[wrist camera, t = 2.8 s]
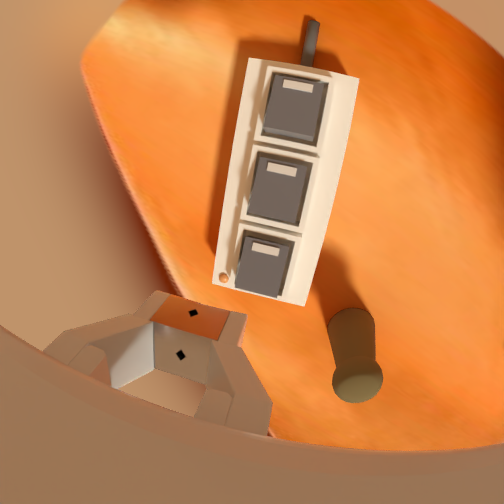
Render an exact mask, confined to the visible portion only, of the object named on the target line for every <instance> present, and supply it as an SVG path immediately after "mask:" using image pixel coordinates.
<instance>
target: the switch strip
mask: <svg viewBox="0 0 504 504" xmlns="http://www.w3.org/2000/svg"><path fill="white" fill-rule="evenodd" d="M319 26H320V23H319V22H317V21H313V20H310V21H308V25H307V31H306V36H305V42H304V47H303V52H302V58H301V63H300V65H297V64H291V63H285V62H278V61H271V60H264V59H256V58H249V60H248V65H247V70H246V75H245V80H244V86H243V91H242V96H241V102H240V107H239V113H238V118H237V124H236V130H235V135H234V141H233V147H232V153H231V159H230V165H229V171H228V177H227V184H226V190H225V196H224V203H223V209H222V216H221V223H220V230H219V237H218V244H217V251H216V258H215V265H214V273H213V280H212V284H216V285H220V286H224V287H228V288H231V289H235V290H239V291H243V292H247V293H251V294H255V295H259V296H263V297H267V298H271V299H275V300H279V301H284V302H288V303H292V304H296V305H300V306H305V303H306V300H307V296H308V293H309V290H310V286H311V283H312V279H313V276H314V272H315V269H316V265H317V262H318V258H319V255H320V251H321V248H322V244H323V240H324V236H325V233H326V229H327V225H328V221H329V217H330V213H331V209H332V205H333V201H334V197H335V193H336V189H337V185H338V181H339V176H340V172H341V168H342V163H343V159H344V154H345V150H346V145H347V140H348V136H349V131H350V126H351V121H352V116H353V111H354V105H355V100H356V95H357V89H358V83H359V78H355V77H352V76H348V75H344V74H340V73H335V72H331V71H327V70H322V69H317V68H313V67H312V66H313V60H314V55H315V49H316V43H317V38H318V32H319ZM275 75H279V76H285V77H291V78H296V79H301V80H307V81H312V82H316V83H321V84H324V86H323V92H322V97H321V102H320V107H319V113H318V118H317V123H316V128H315V133H314V138H313V142H312V141H307V140H303V139H298V138H293V137H288V136H284V135H278V134H273V133H268V132H265V130H264V127H263V126H264V121H265V117H266V113H267V108H268V104H269V100H270V96H271V92H272V87H273V83H274V79H275ZM260 157H264V158H269V159H274V160H279V161H283V162H288V163H293V164H297V165H302V166H306V167H307V171H306V176H305V181H304V185H303V190H302V194H301V199H300V203H299V208H298V212H297V217H296V221H295V223H291V222H287V221H283V220H278V219H274V218H270V217H265V216H261V215H256V214H252V213H248V209H249V204H250V200H251V195H252V191H253V186H254V182H255V177H256V173H257V168H258V164H259V159H260ZM248 235H249V236H253V237H257V238H261V239H266V240H270V241H274V242H278V243H283V244H287V245H290V247H289V251H288V255H287V259H286V264H285V268H284V272H283V276H282V280H281V284H280V288H279V292H278V296H277V298H274V297H270V296H266V295H262V294H258V293H254V292H250V291H246V290H242V289H238V288H235V283H236V279H237V274H238V269H239V265H240V260H241V256H242V251H243V246H244V242H245V237H246V236H248Z"/></svg>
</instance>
